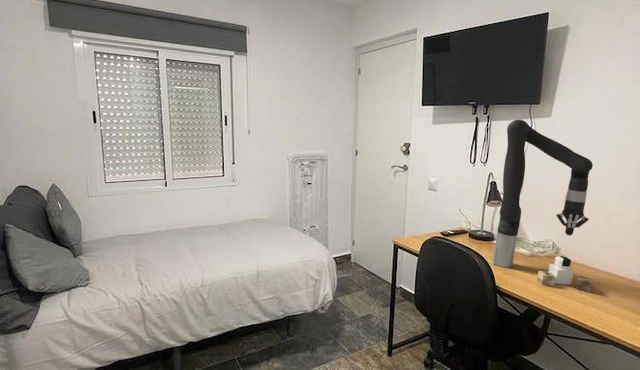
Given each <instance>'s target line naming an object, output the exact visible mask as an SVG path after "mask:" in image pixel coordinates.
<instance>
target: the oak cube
mask: <svg viewBox="0 0 640 370" xmlns="http://www.w3.org/2000/svg"><path fill="white" fill-rule="evenodd" d="M536 281H537V283H539V284H540V285H541V286H547V287H555V283H554V282H555V276H554V275H553V274H552V273H551V272H548V271H544V270H538V272H537V279H536Z"/></svg>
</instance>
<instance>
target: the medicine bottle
mask: <svg viewBox="0 0 640 370" xmlns="http://www.w3.org/2000/svg"><path fill="white" fill-rule="evenodd" d="M554 258H555V259H554V263H549V267H548V271H547V272H551V273H552V274H553V275H554V276H555V282H554V285H555V284H556V285H565V286H566V285H567V286H571V285H572V283H573V282H572V281H573V279H574V272H575V271H574V270H573V269H572V268H571V264H572V260H571V259H570V258H569V257H567V256H562V255H558V256H555V257H554Z"/></svg>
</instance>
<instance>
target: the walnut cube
mask: <svg viewBox="0 0 640 370" xmlns="http://www.w3.org/2000/svg"><path fill="white" fill-rule="evenodd" d="M592 285H593V280H592V278H589V277H588V278H587V277H584V276H579V275H577V279H576V283H575V290H576V289H577V291H580V292H583V291H584V292H585V293H587V294H591V289H592Z"/></svg>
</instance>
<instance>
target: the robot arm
mask: <svg viewBox="0 0 640 370" xmlns="http://www.w3.org/2000/svg"><path fill="white" fill-rule="evenodd" d="M506 135H507V137H506V138H507V148H506V149H507V151H506V154H505V160H504V165H503V175H502V176H503V179H502V188H503V189H502V191H503V194H502V199H501V206H500V209H499V216H500V217H499V221H498V226H497V232H496V239H495V243H494V245H493V246H494V247H493V253H492V254H493V255H492V259H491V260H492V264H493V265H495V266H498V267H501V268H508V269H509V268H512V267H513V264H514V261H515V260H514V259H515V253H516V248H517V247H516V246H517V241H518V234H519V229H520V223H521V217H522V208H521V207H520V200H521V199H520V196H521V192H522V188H523V184H524V180H525V174H526V173H525V172H526V154H525V147H526V143H528V144H530V145H532V146H533V147H535V148H536V149H538V150H540V151H541V152H543V153H544V154H546V155H547V156H549V157H551V158H552V159H553V160H556V161H558V162H560V163H562V164H564V165H565V166H567V167H568V168H570V169H571V170H570V179H569V182H568V188H567V191H566V195H565V200H564V206H563V210H562V211H561V212H560V213H556V215H555V216H556V218H557V219H558V220H559V222H560V223H561V225H562V226H564V227H565V232H564V234H566V235H567V236H572V235H573V234H574V231H575V229H576V228H580V227H582V226H583V225H584V224H586V223H588V221H589V218H588V217H587V216H585V213H584V211H585V206H586V199H587V193H588V192H587V191H588V187H589V175H590V171H591V170H593V169H592V168H593V161H592V160H590V159H589V158H587V157H585V156H584V155H582V154H579V153H577V152H576V151H575V152H574V150H572V149H571V148H569V147H567V146H565V145H564V144H562V143H560V142H558V141H556V140H554V139H551V138H549V137H548V136H545V135H544V134H542V133H540V132H539V131H537V130H535V129H534V128H533V127H532V126H530V125H529V123H528V122H527V121H525V120H522V119H515V120H512V121H511V122H510V123H509V124H508V125H507V128H506ZM563 218H565V220H564V219H563Z"/></svg>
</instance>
